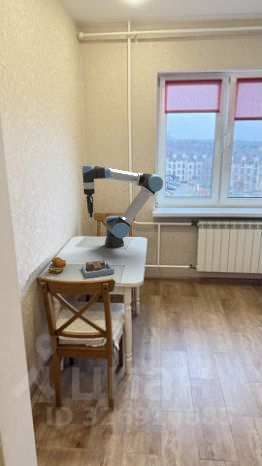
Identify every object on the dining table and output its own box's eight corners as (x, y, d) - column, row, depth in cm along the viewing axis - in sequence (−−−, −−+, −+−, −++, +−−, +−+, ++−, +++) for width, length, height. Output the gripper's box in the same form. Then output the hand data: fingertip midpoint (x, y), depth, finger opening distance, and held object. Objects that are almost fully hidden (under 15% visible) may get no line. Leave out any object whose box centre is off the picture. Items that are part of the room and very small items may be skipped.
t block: (103, 265, 213) (103, 259, 211) (108, 272, 202) (108, 266, 201) (85, 268, 209) (85, 262, 208) (89, 275, 198) (89, 269, 197)
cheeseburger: (49, 268, 210) (51, 254, 208) (65, 271, 212) (67, 257, 209) (46, 274, 200) (48, 259, 198) (63, 277, 202) (66, 262, 199)
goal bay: (108, 264, 213) (107, 260, 213) (114, 273, 200) (113, 268, 199) (81, 268, 208) (81, 264, 207) (86, 277, 194) (86, 273, 194)
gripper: (81, 187, 226) (84, 220, 233) (85, 189, 214) (87, 224, 221) (92, 186, 229) (94, 219, 235) (96, 189, 217) (98, 223, 223)
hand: (91, 221), depth 228 cm, fingers closed
